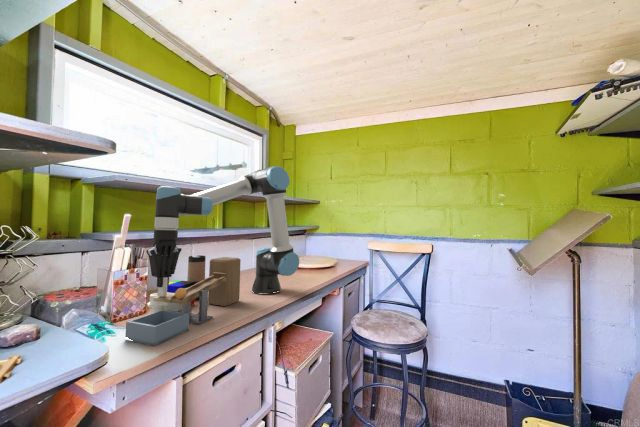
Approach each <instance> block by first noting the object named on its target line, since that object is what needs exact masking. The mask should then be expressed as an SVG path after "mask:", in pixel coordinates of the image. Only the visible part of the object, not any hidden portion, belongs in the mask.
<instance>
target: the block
mask: <svg viewBox="0 0 640 427" xmlns="http://www.w3.org/2000/svg"><path fill="white" fill-rule="evenodd" d="M241 261H242V260H241V258H239V257H228V256H222V257H215V258H211V259H210V260H209V274H208V277H210V276H212V275H213V272H217V273H226V281H225V282H223V283H221V284H220V285H218V286H216V287H215V288H213V289H211V290H209V291H208V305H213V306H219V305H220V307H227V306H230V305H232V304H234V303H237V302H239V301H240V293H241V292H240V287H241V286H240V284H241Z"/></svg>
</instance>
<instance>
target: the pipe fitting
mask: <svg viewBox="0 0 640 427" xmlns="http://www.w3.org/2000/svg"><path fill="white" fill-rule="evenodd" d="M157 295H158V292H154V293H151V294H150V295H149V302H147V303H146V304H147V306H146V307H148V308H151V310H152V312H151V313H154V312H157V311H160V310H162V306H165V305H168V303H164V302H157V301H154V299H153V298H154V297H156V296H157Z"/></svg>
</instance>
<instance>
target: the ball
mask: <svg viewBox="0 0 640 427" xmlns="http://www.w3.org/2000/svg"><path fill="white" fill-rule="evenodd" d="M186 294H187V292H186V290H185V289H184V288H179V289H177V290H176V292H175V296H176V298H178V299H182V298H184V297H185V296H186Z"/></svg>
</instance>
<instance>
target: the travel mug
mask: <svg viewBox="0 0 640 427" xmlns="http://www.w3.org/2000/svg"><path fill="white" fill-rule="evenodd" d="M187 260H188V262H187V263H188V264H187V278H186V279H187V280H186V281H194V282H195V284H196V283H198V282H200V281H202V280H204V279H206V255H196V256H192V255H190V256H188V258H187ZM199 297H200V296H199ZM199 297H197V298H195V301H199Z"/></svg>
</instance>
